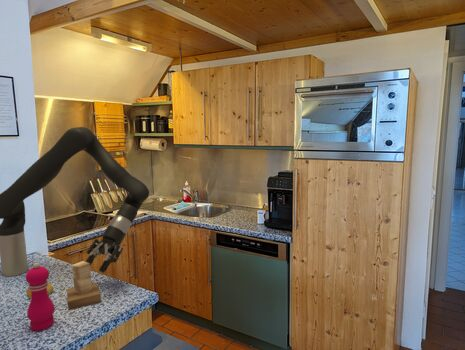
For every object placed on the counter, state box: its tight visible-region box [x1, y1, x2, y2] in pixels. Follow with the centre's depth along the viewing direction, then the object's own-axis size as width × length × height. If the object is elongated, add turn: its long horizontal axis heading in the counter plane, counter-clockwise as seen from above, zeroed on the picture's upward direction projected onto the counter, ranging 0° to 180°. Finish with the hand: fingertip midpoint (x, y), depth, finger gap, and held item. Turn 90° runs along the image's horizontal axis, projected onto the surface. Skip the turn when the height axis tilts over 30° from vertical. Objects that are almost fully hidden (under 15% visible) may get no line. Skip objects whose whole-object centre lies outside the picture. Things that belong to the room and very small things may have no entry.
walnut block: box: [66, 281, 102, 311], centre depth 116 cm, size 10×10×3 cm
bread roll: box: [26, 282, 54, 300], centre depth 121 cm, size 8×9×4 cm
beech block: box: [71, 260, 92, 295], centre depth 115 cm, size 4×4×10 cm
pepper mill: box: [25, 262, 56, 332], centre depth 100 cm, size 7×7×20 cm
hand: (93, 269), depth 118 cm, fingers open, 8 cm apart
